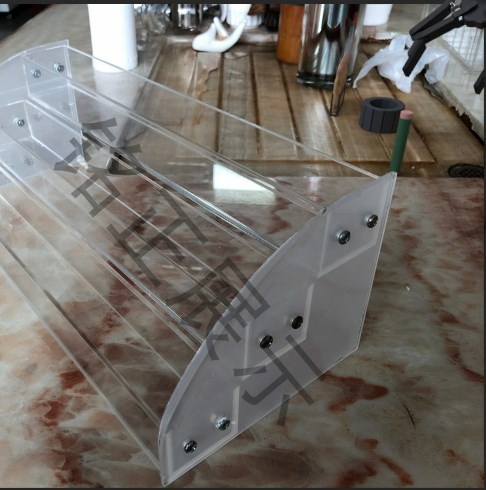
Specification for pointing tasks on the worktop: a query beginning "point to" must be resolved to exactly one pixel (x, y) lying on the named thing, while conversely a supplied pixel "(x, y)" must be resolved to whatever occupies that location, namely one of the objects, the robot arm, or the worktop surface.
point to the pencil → (401, 140)
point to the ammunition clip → (339, 87)
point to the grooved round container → (380, 114)
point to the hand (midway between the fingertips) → (439, 81)
